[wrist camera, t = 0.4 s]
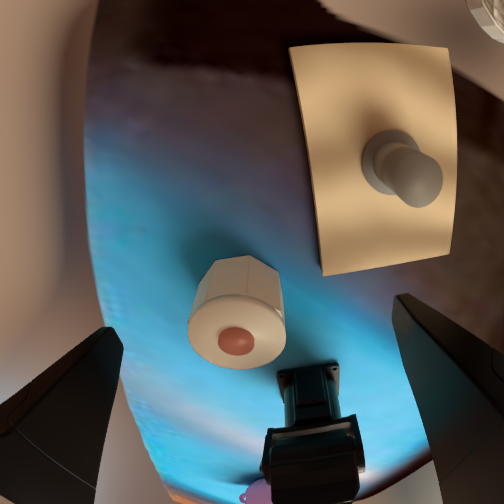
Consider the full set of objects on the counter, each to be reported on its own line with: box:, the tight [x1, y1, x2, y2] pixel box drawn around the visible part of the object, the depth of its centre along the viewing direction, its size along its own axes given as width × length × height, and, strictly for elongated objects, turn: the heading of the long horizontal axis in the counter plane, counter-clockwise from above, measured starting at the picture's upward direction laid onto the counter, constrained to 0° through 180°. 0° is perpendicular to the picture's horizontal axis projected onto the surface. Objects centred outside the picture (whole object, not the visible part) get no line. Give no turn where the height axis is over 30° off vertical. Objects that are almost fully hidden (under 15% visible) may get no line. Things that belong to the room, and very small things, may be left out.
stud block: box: [288, 43, 457, 276], centre depth 16 cm, size 16×11×5 cm
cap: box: [188, 255, 286, 369], centre depth 22 cm, size 7×7×6 cm
